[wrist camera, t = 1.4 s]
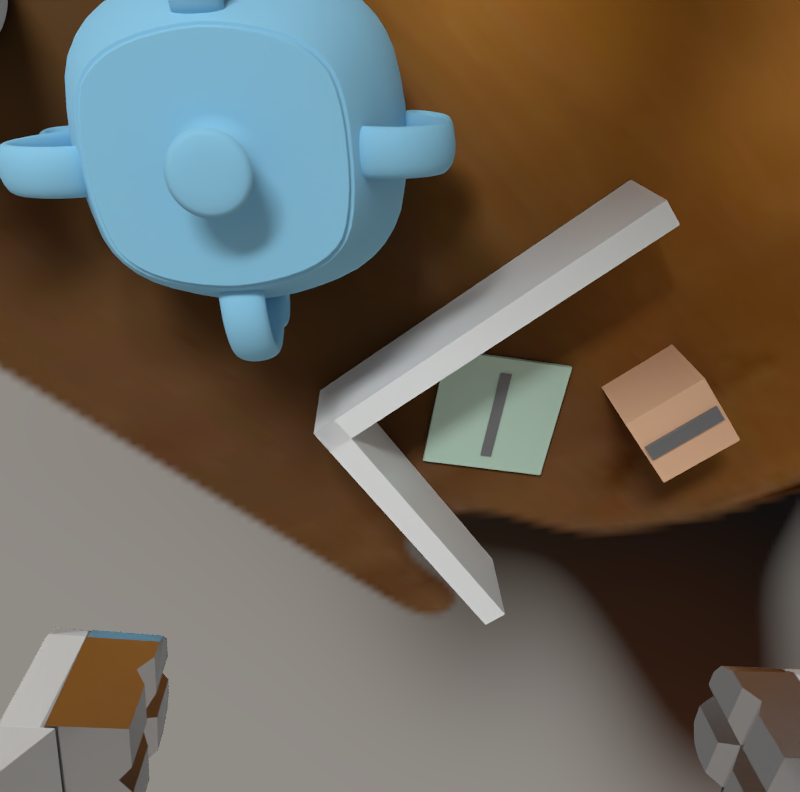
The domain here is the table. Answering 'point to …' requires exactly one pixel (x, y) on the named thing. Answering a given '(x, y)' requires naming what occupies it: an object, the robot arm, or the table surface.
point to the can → (3, 12)
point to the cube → (671, 412)
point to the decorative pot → (235, 148)
